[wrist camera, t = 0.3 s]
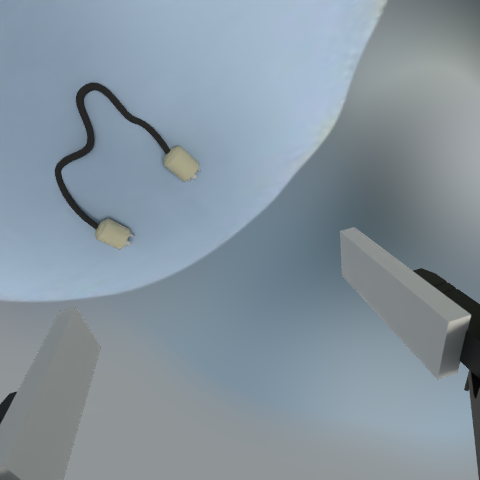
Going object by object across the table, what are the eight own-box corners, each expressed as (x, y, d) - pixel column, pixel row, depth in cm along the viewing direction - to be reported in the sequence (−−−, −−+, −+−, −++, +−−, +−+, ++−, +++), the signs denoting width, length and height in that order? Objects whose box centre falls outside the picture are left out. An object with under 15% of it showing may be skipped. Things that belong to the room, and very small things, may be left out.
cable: (14, 174, 35) (-1, 182, 32) (99, 67, 32) (91, 64, 29) (125, 248, 42) (121, 260, 39) (203, 165, 39) (205, 171, 36)
